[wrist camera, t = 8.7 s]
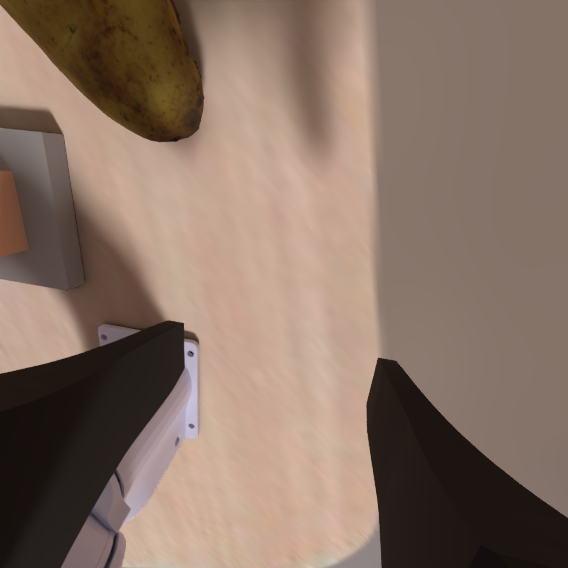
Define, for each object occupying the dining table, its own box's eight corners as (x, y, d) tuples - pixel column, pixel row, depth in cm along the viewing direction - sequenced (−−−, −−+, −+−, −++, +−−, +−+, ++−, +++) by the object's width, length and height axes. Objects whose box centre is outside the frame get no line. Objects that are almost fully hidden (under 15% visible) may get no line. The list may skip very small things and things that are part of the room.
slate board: (84, 283, 23) (68, 290, 22) (-31, 263, 24) (-54, 269, 23) (63, 134, 19) (41, 132, 18) (-72, 120, 21) (-102, 117, 19)
